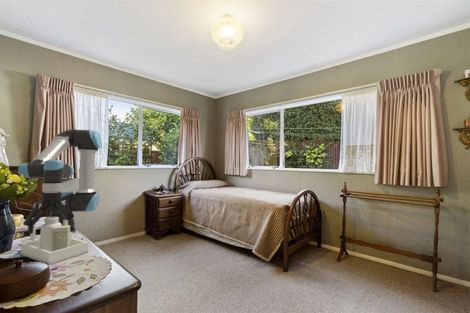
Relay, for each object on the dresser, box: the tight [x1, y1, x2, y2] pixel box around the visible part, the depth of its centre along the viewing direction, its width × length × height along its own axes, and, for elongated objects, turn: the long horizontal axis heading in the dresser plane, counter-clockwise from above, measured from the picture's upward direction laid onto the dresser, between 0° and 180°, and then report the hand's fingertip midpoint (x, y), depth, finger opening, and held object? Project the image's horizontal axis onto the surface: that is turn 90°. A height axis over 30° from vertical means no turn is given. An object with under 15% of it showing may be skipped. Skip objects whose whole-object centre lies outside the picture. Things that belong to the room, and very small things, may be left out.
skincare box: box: [51, 225, 71, 252], centre depth 108 cm, size 6×4×12 cm
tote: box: [19, 237, 89, 266], centre depth 109 cm, size 16×24×5 cm, turn 64°
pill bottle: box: [39, 216, 62, 251], centre depth 112 cm, size 8×8×15 cm
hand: (49, 236), depth 112 cm, fingers open, 13 cm apart
